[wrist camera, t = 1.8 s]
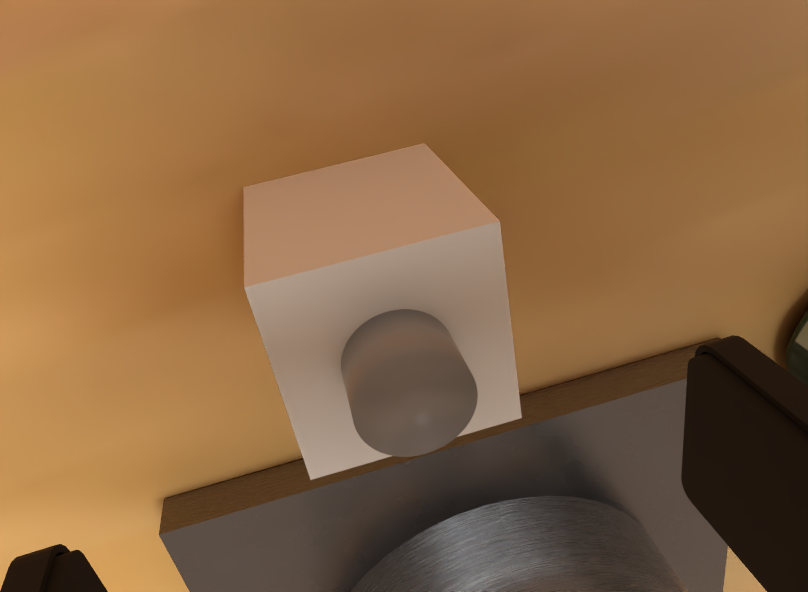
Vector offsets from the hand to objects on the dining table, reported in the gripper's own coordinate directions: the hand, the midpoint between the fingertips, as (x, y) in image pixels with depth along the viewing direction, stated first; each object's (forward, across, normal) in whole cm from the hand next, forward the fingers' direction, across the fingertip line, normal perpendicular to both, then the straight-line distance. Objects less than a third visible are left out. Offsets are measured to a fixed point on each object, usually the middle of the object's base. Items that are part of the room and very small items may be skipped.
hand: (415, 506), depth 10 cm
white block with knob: (+10, -1, 0) cm, 10 cm away
